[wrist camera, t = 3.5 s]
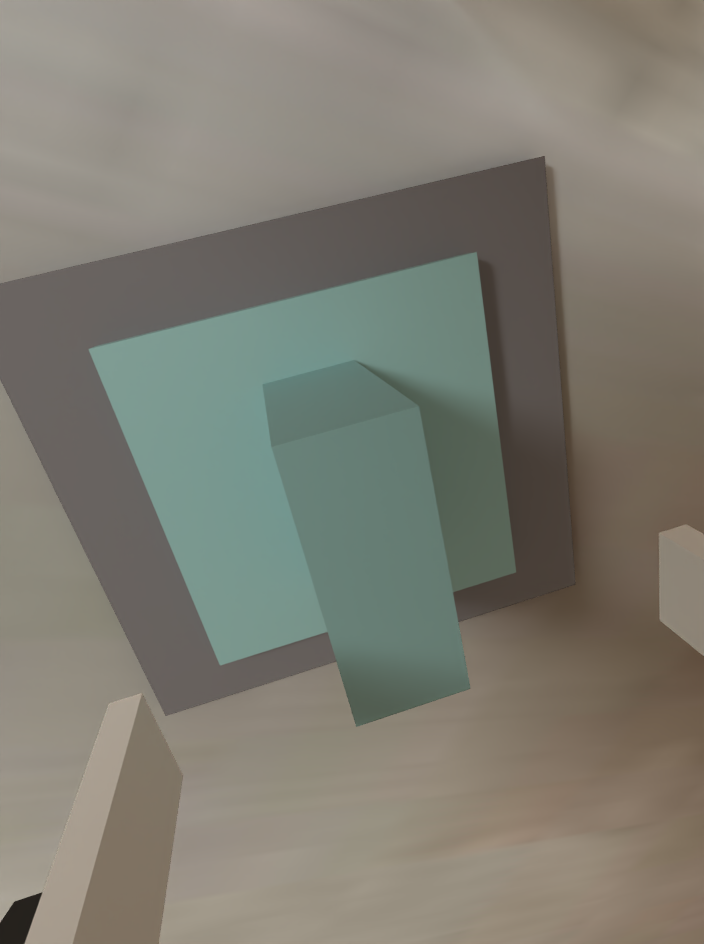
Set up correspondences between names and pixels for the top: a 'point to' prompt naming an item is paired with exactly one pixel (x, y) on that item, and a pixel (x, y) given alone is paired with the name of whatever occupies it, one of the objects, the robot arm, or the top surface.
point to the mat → (259, 282)
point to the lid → (329, 472)
